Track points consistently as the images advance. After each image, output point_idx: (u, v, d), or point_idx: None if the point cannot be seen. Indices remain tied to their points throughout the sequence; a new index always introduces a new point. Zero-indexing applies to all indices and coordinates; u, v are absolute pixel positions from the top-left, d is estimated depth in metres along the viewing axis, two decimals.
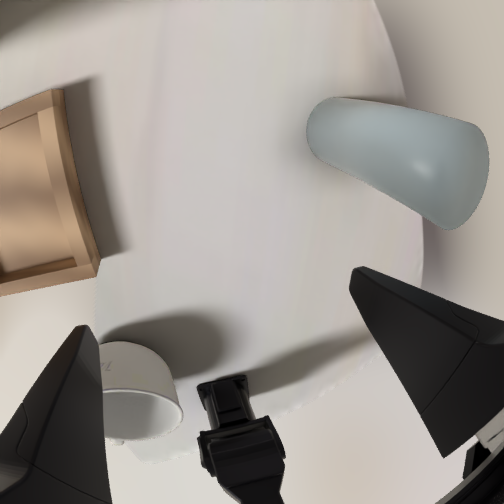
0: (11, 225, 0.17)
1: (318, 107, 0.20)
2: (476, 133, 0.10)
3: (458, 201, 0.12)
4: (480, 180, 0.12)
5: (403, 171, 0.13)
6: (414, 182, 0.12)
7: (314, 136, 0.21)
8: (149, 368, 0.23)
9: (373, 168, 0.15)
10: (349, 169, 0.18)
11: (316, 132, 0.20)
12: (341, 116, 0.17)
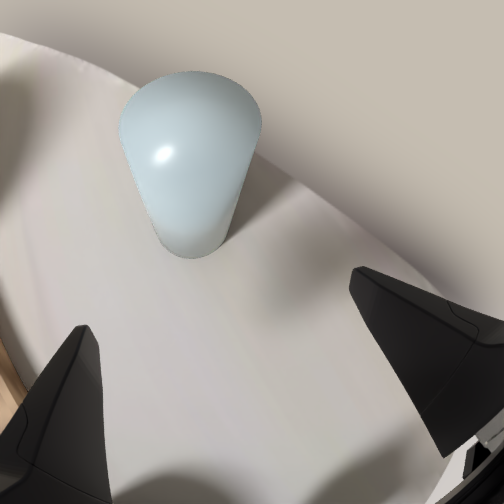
0: None
1: None
2: (176, 77, 0.11)
3: (205, 137, 0.11)
4: (232, 100, 0.11)
5: (135, 176, 0.12)
6: (135, 171, 0.11)
7: (160, 239, 0.21)
8: None
9: (151, 208, 0.14)
10: (174, 236, 0.17)
11: None
12: None
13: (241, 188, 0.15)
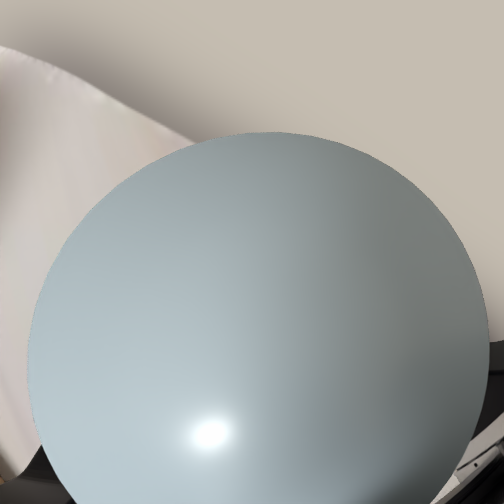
0: None
1: None
2: (227, 165, 0.03)
3: (373, 474, 0.02)
4: (439, 291, 0.03)
5: None
6: None
7: None
8: None
9: None
10: None
11: None
12: None
13: None
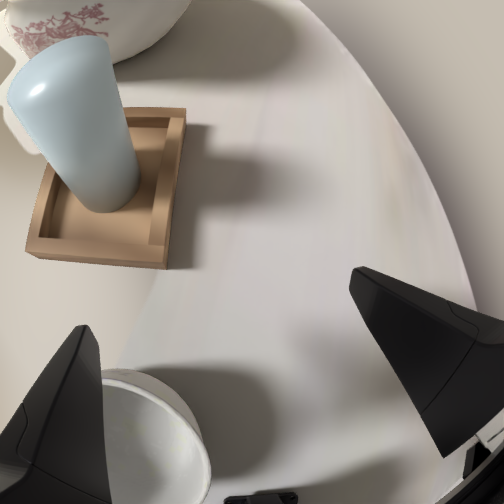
0: None
1: None
2: (52, 47, 0.10)
3: (62, 77, 0.10)
4: (89, 47, 0.10)
5: None
6: (19, 120, 0.10)
7: None
8: (180, 403, 0.16)
9: (46, 156, 0.13)
10: (76, 183, 0.16)
11: None
12: None
13: (118, 122, 0.14)
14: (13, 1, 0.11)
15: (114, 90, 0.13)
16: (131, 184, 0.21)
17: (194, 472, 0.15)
